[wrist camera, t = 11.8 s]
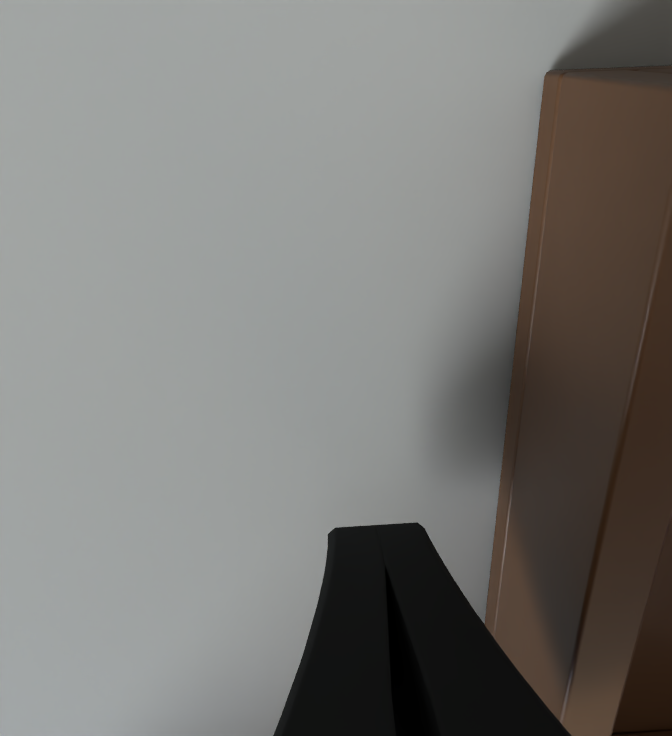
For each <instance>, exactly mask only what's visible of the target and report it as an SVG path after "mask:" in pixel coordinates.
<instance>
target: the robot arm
mask: <svg viewBox="0 0 672 736" xmlns="http://www.w3.org/2000/svg"><path fill="white" fill-rule="evenodd" d="M273 736H572V735H571V734H570V733H569V732H568V731H567V730H566V728H565V727H564V726H563V725H562V724H561V723H560V721H559V720H558V719H557V718H556V717H555V715H554V714H553V713H552V712H551V711H550V710H549V708H548V707H547V706H546V705H545V703H544V702H543V701H542V700H541V698H540V697H539V696H538V695H537V693H536V692H535V691H534V690H533V688H532V687H531V686H530V685H529V683H528V682H527V681H526V680H525V679H524V677H523V676H522V675H521V674H520V672H519V671H518V670H517V668H516V667H515V666H514V664H513V663H512V662H511V660H510V659H509V658H508V656H507V655H506V654H505V653H504V651H503V650H502V649H501V647H500V646H499V644H498V643H497V642H496V640H495V639H494V637H493V636H492V635H491V633H490V632H489V630H488V629H487V628H486V626H485V625H484V623H483V622H482V621H481V619H480V618H479V616H478V615H477V614H476V612H475V611H474V609H473V608H472V606H471V605H470V603H469V602H468V600H467V599H466V598H465V596H464V595H463V593H462V591H461V590H460V588H459V587H458V585H457V584H456V582H455V581H454V579H453V577H452V576H451V574H450V573H449V571H448V569H447V568H446V566H445V564H444V563H443V561H442V559H441V558H440V556H439V554H438V553H437V551H436V549H435V547H434V545H433V544H432V542H431V540H430V538H429V536H428V534H427V532H426V530H425V528H423V527H422V526H421V525H420V524H419V523H403V524H387V525H371V526H355V527H339V528H335V529H333V530H332V531H331V532H330V533H329V534H328V551H327V559H326V567H325V572H324V578H323V583H322V587H321V591H320V596H319V600H318V604H317V608H316V612H315V615H314V619H313V622H312V625H311V629H310V632H309V636H308V639H307V643H306V646H305V650H304V653H303V656H302V659H301V662H300V665H299V668H298V671H297V673H296V676H295V679H294V682H293V684H292V687H291V690H290V693H289V696H288V698H287V701H286V704H285V707H284V709H283V712H282V715H281V718H280V720H279V723H278V725H277V728H276V730H275V733H274V735H273Z"/></svg>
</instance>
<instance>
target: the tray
mask: <svg viewBox="0 0 672 736" xmlns="http://www.w3.org/2000/svg"><path fill="white" fill-rule="evenodd" d="M485 626H486V628H487V629H488V630H489V632H490V633H491V635H492V636H493V637H494V639H495V640H496V642H497V643H498V644H499V646H500V647H501V649H502V650H503V651H504V653H505V654H506V655H507V656H508V658H509V659H510V660H511V662H512V663H513V664H514V666H515V667H516V668H517V670H518V671H519V672H520V674H521V675H522V676H523V677H524V679H525V680H526V681H527V682H528V683H529V685H530V686H531V687H532V688H533V690H534V691H535V692H536V693H537V695H538V696H539V697H540V698H541V700H542V701H543V702H544V703H545V705H546V706H547V707H548V708H549V710H550V711H551V712H552V713H553V714H554V715H555V717H556V718H557V719H558V720H559V721H560V723H561V724H562V725H563V726H564V727H565V728H566V730H567V731H568V732H569V733H570V734H571V735H572V736H672V65H670V66H644V67H618V68H593V69H567V70H550V71H548V72H546V75H545V77H544V86H543V95H542V104H541V113H540V122H539V132H538V141H537V150H536V159H535V168H534V177H533V186H532V196H531V205H530V214H529V223H528V232H527V241H526V250H525V260H524V269H523V278H522V287H521V296H520V305H519V315H518V324H517V333H516V342H515V351H514V360H513V369H512V379H511V388H510V397H509V406H508V415H507V424H506V434H505V443H504V452H503V461H502V470H501V479H500V488H499V498H498V507H497V516H496V525H495V534H494V543H493V553H492V562H491V571H490V580H489V589H488V598H487V607H486V617H485Z"/></svg>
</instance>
